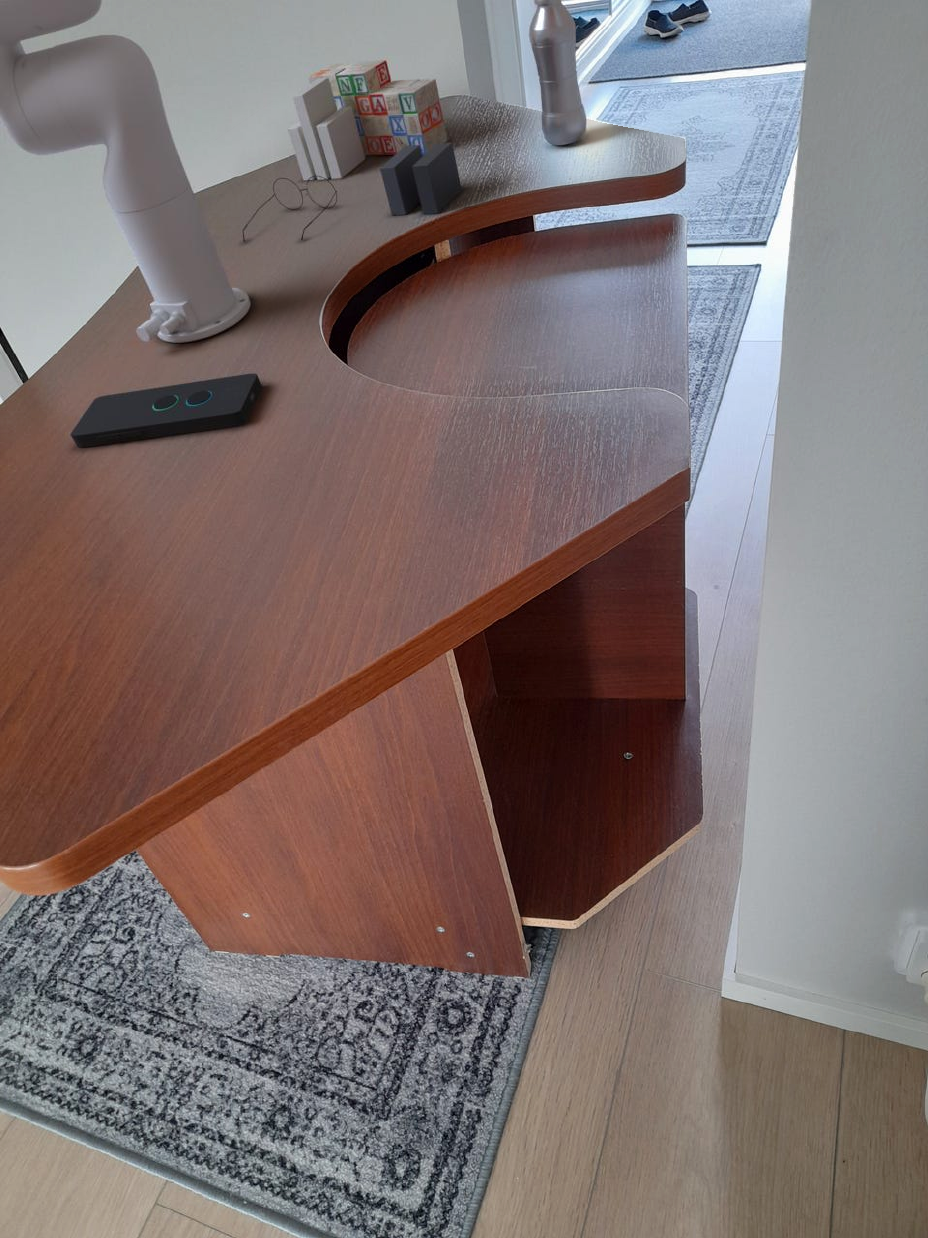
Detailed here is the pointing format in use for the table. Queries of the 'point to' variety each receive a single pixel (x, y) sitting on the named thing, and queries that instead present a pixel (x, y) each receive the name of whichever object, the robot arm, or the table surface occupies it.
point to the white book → (315, 119)
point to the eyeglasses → (299, 207)
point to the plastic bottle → (557, 72)
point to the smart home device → (168, 410)
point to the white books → (331, 144)
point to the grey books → (421, 179)
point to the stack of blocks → (387, 107)
